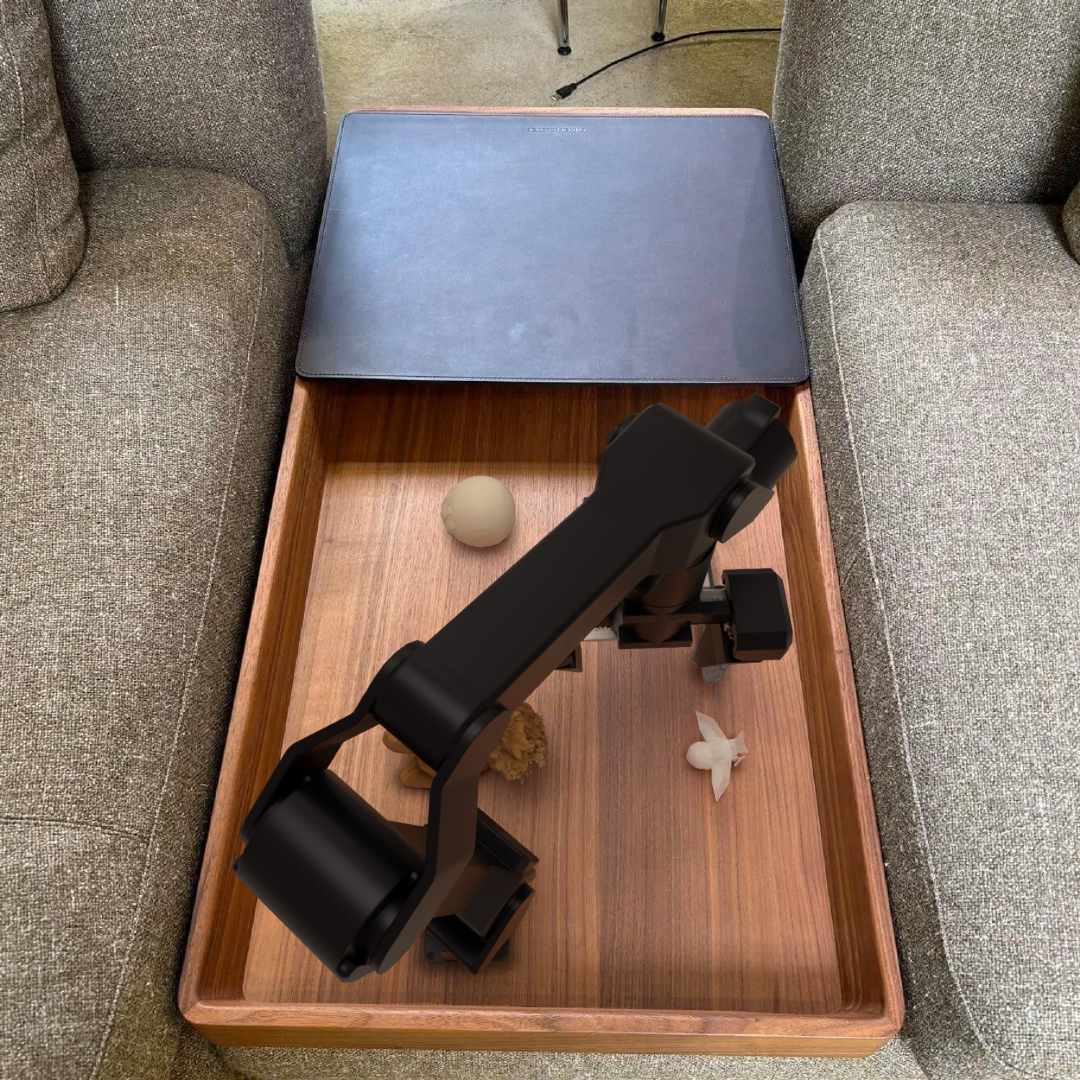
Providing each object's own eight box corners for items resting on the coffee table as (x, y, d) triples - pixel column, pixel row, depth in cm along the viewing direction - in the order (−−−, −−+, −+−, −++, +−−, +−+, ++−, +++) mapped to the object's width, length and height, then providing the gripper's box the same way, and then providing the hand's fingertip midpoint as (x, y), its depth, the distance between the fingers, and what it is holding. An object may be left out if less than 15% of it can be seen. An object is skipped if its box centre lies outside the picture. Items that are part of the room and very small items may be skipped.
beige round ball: (443, 503, 90) (436, 464, 85) (515, 499, 91) (513, 460, 85) (443, 561, 87) (436, 525, 81) (518, 556, 87) (516, 520, 81)
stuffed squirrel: (409, 675, 81) (386, 611, 70) (562, 700, 79) (564, 640, 68) (380, 783, 76) (351, 733, 65) (542, 812, 74) (541, 767, 63)
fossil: (688, 610, 84) (696, 585, 80) (725, 612, 84) (735, 587, 80) (689, 692, 80) (697, 671, 75) (728, 695, 80) (738, 674, 75)
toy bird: (670, 716, 78) (696, 695, 74) (716, 716, 80) (743, 696, 76) (690, 807, 74) (719, 790, 70) (737, 805, 76) (768, 789, 72)
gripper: (787, 455, 59) (743, 568, 73) (507, 464, 59) (515, 576, 72) (820, 605, 53) (765, 698, 67) (510, 616, 53) (518, 706, 67)
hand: (638, 664), depth 68 cm, fingers open, 9 cm apart
